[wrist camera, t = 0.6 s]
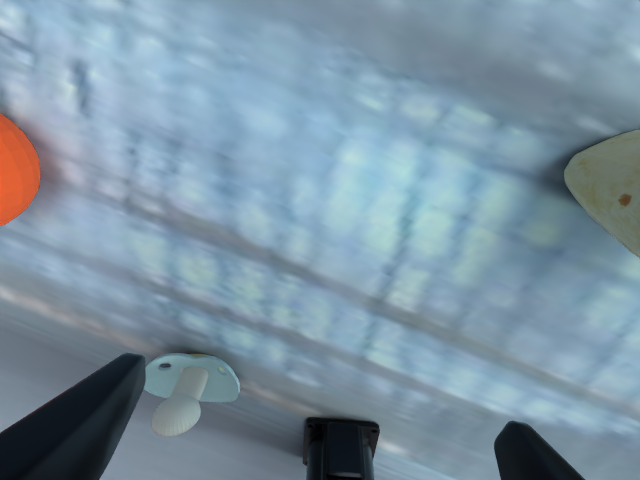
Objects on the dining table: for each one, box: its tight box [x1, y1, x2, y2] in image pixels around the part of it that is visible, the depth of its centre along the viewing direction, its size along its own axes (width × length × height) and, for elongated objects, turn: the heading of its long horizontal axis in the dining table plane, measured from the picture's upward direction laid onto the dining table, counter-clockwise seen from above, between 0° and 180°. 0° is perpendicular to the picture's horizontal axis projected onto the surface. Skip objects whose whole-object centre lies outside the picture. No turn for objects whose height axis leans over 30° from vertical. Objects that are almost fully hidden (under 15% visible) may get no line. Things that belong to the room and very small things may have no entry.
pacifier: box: [144, 353, 241, 437], centre depth 24 cm, size 7×6×6 cm
